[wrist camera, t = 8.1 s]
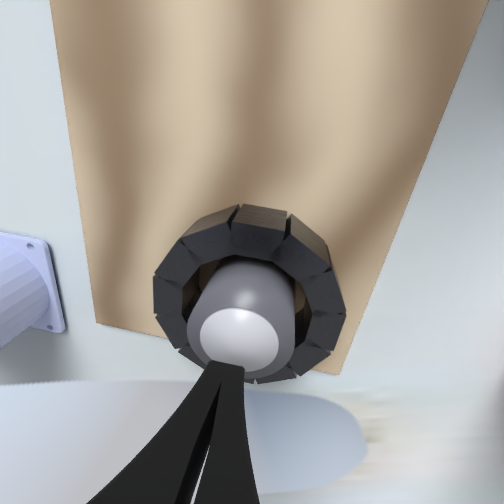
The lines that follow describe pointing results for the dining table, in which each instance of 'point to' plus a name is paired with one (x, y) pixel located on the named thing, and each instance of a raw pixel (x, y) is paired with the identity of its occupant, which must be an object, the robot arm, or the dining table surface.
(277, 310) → the grey domed cylinder
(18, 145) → the dining table surface
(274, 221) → the segmented dark ring
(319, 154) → the tan wooden board
